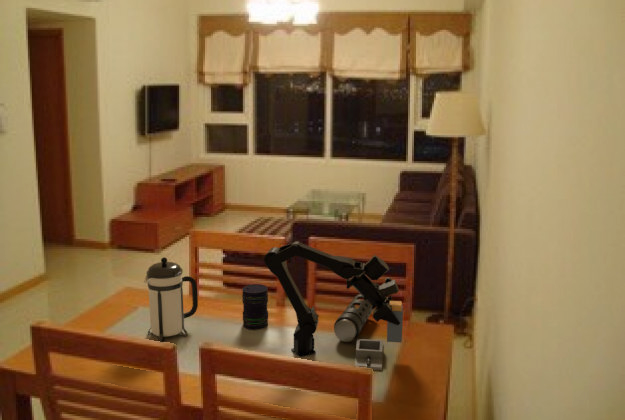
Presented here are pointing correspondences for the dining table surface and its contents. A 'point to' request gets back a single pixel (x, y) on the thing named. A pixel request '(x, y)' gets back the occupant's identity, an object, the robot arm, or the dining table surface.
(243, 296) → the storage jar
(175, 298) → the coffee press
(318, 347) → the dining table surface
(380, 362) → the end holder
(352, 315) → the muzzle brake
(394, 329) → the orange-capped square pillar
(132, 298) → the dining table surface
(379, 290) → the robot arm
